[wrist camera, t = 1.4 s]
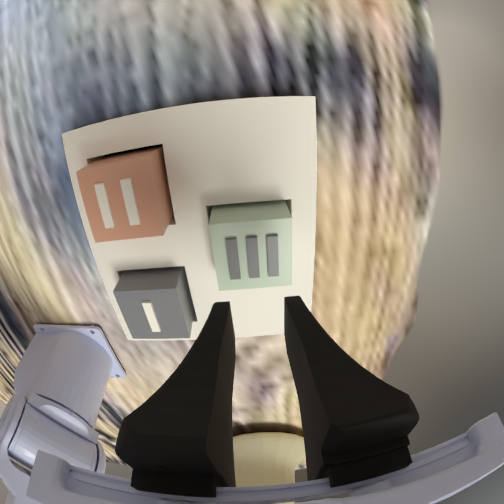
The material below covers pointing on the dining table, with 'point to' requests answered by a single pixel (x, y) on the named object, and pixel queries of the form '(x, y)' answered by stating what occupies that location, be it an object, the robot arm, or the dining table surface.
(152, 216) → the key two
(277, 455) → the handbell
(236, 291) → the key panel
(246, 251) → the key three
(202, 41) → the dining table surface
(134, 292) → the key one
